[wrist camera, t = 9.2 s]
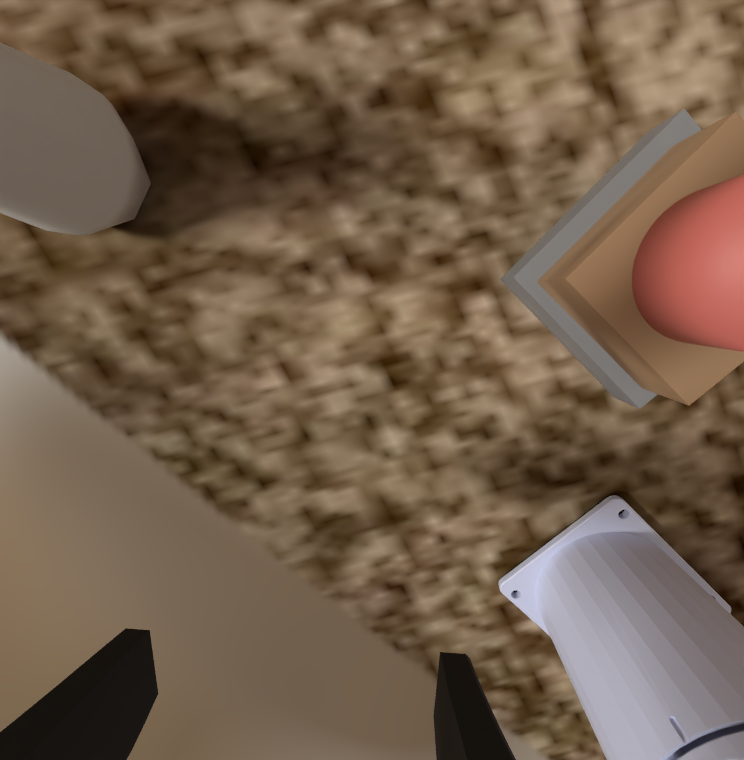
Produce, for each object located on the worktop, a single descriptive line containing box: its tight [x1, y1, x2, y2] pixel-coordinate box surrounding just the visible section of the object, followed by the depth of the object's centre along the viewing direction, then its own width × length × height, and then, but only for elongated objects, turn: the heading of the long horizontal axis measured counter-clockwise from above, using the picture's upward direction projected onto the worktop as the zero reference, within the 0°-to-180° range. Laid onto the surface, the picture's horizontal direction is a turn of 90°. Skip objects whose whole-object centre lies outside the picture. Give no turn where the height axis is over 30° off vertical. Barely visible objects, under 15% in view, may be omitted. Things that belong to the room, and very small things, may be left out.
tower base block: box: [500, 109, 701, 409], centre depth 15 cm, size 8×8×2 cm
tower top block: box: [537, 112, 744, 405], centre depth 13 cm, size 6×6×2 cm
